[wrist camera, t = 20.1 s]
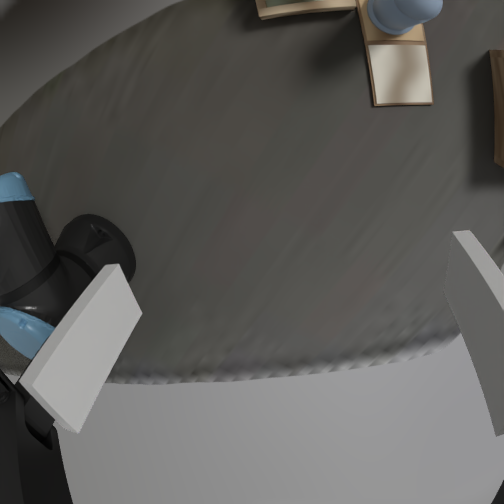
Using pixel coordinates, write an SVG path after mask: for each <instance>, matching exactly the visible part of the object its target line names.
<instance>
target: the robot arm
mask: <svg viewBox="0 0 504 504" xmlns="http://www.w3.org/2000/svg"><path fill="white" fill-rule="evenodd" d="M34 200H35V198H34V197H33V196H32V194H31V192H30V190H29V188H28V186H27V183H26V181H25V179H24V177H23V176H22V175H21V174H19V173H17V172H10V173H6V174H3V175H1V176H0V334H1V335H2V337H3V338H4V339H5V340H6V341H7V342H8V343H9V344H10V345H11V346H12V347H14V348H15V349H16V350H17V351H19V352H20V353H22V354H23V355H25V356H26V357H28V358H30V359H32V360H31V361H30V363H29V364H28V366H27V367H26V369H25V370H24V372H23V373H22V375H21V376H20V378H19V379H18V381H17V382H16V384H15V385H14V384H13V383H12V382H11V381H10V380H9V379H8V377H7V376H6V375H5V374H4V373H3V371H2V370H1V369H0V504H73V502H72V498H71V495H70V491H69V487H68V483H67V479H66V474H65V470H64V465H63V461H62V456H61V451H60V445H59V439H58V433H57V430H56V428H55V427H54V426H53V423H54V421H55V420H56V421H57V422H58V423H59V424H60V425H61V426H62V427H63V428H64V429H66V430H69V431H72V432H75V433H79V432H80V430H81V428H82V426H83V424H84V422H85V420H86V418H87V416H88V414H89V412H90V410H91V408H92V406H93V404H94V402H95V400H96V398H97V396H98V394H99V392H100V390H101V388H102V386H103V384H104V382H105V380H106V379H107V377H108V375H109V373H110V371H111V369H112V367H113V365H114V364H115V362H116V360H117V358H118V356H119V354H120V352H121V351H122V349H123V347H124V345H125V343H126V341H127V340H128V338H129V336H130V334H131V332H132V331H133V329H134V327H135V325H136V324H137V322H138V320H139V318H140V317H141V315H142V312H141V310H140V308H139V306H138V304H137V302H136V299H135V297H134V295H133V293H132V291H131V289H130V287H129V285H128V284H129V282H130V281H131V279H132V278H133V276H134V273H135V269H136V260H135V255H134V252H133V249H132V247H131V245H130V243H129V241H128V240H127V238H126V237H125V235H124V234H123V233H122V232H121V231H120V230H119V229H118V228H117V227H116V226H115V225H114V224H113V223H111V222H110V221H108V220H106V219H104V218H102V217H100V216H97V215H91V214H85V215H80V216H78V217H76V218H74V219H73V220H72V221H71V222H70V223H68V224H67V225H66V226H65V227H64V229H63V230H62V232H61V234H60V236H59V238H58V240H57V242H56V245H55V247H54V245H53V243H52V241H51V239H50V236H49V234H48V232H47V230H46V228H45V225H44V223H43V221H42V218H41V216H40V213H39V211H38V208H37V206H36V203H35V201H34ZM443 293H444V295H445V297H446V299H447V301H448V304H449V306H450V308H451V310H452V312H453V315H454V317H455V319H456V322H457V324H458V326H459V329H460V331H461V334H462V336H463V338H464V341H465V343H466V346H467V349H468V351H469V354H470V356H471V359H472V362H473V364H474V367H475V370H476V372H477V376H478V378H479V381H480V384H481V387H482V390H483V393H484V397H485V399H486V403H487V406H488V409H489V413H490V416H491V420H492V423H493V427H494V431H495V435H496V436H499V435H502V434H504V275H503V274H502V273H501V271H500V270H499V268H498V267H497V265H496V264H495V263H494V261H493V260H492V259H491V257H490V256H489V255H488V253H487V252H486V251H485V249H484V248H483V247H482V245H481V244H480V243H479V242H478V240H477V239H476V238H475V236H474V235H473V234H472V233H471V231H470V230H466V231H456V232H452V238H451V246H450V254H449V261H448V267H447V274H446V280H445V285H444V291H443ZM491 504H504V480H503V482H502V485H501V486H500V488H499V490H498V492H497V494H496V496H495V498H494V500H493V502H492V503H491Z"/></svg>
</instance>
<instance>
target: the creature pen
mask: <svg viewBox="0 0 504 504" xmlns="http://www.w3.org/2000/svg"><path fill="white" fill-rule="evenodd" d="M489 53H490V61H491V70H492V80H493V94H494V118H495V146H494V162H495V163H496V164H498V165H499V166H501V167H502V168H504V50H489Z"/></svg>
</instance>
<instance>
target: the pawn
mask: <svg viewBox="0 0 504 504" xmlns="http://www.w3.org/2000/svg"><path fill="white" fill-rule="evenodd" d="M442 4H443V1H442V0H368V3H367V14H368V17H369V19H370V20H371V22H372V23H373V24H374V26H375V27H377V28H378V29H379V30H381V31H383V32H385V33H387V34H391V35H400V34H404V33H407V32H409V31H410V30H411V29H412V28H413V27H414V26H415V25H418V24H421V23H424V22H426V21H428V20H430V19H432V18H434V17H436V16H437V15H438V14H439V13H440V11H441V9H442Z"/></svg>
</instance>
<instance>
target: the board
mask: <svg viewBox="0 0 504 504" xmlns="http://www.w3.org/2000/svg"><path fill="white" fill-rule="evenodd" d="M355 1H356V5H357V10H358V14H359V19H360V23H361V28H362V33H363V38H364V44H365V49H366V55H367V61H368V67H369V73H370V80H371V87H372V94H373V102H374V106H385V105H426V104H432V105H434V101H433V90H432V81H431V72H430V64H429V57H428V51H427V44H426V38H425V33H424V27H423V23H421V24H418V25H415V26H414V27H413V28H412V29H411V30H410V31H409V32H407V33H404V34H400V35H391V34H387V33H385V32H383V31H381V30H379V29H378V28H377V27H375V26H374V24H373V23H372V22H371V20H370V19H369V17H368V14H367V3H368V0H355Z"/></svg>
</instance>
